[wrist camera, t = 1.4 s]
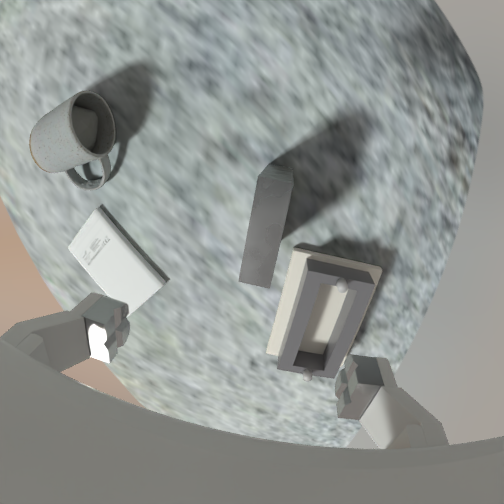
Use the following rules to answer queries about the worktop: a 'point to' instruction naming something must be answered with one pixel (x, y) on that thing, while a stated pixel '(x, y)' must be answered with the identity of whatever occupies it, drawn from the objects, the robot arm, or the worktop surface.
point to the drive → (266, 225)
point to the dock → (320, 312)
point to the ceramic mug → (75, 138)
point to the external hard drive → (114, 262)
